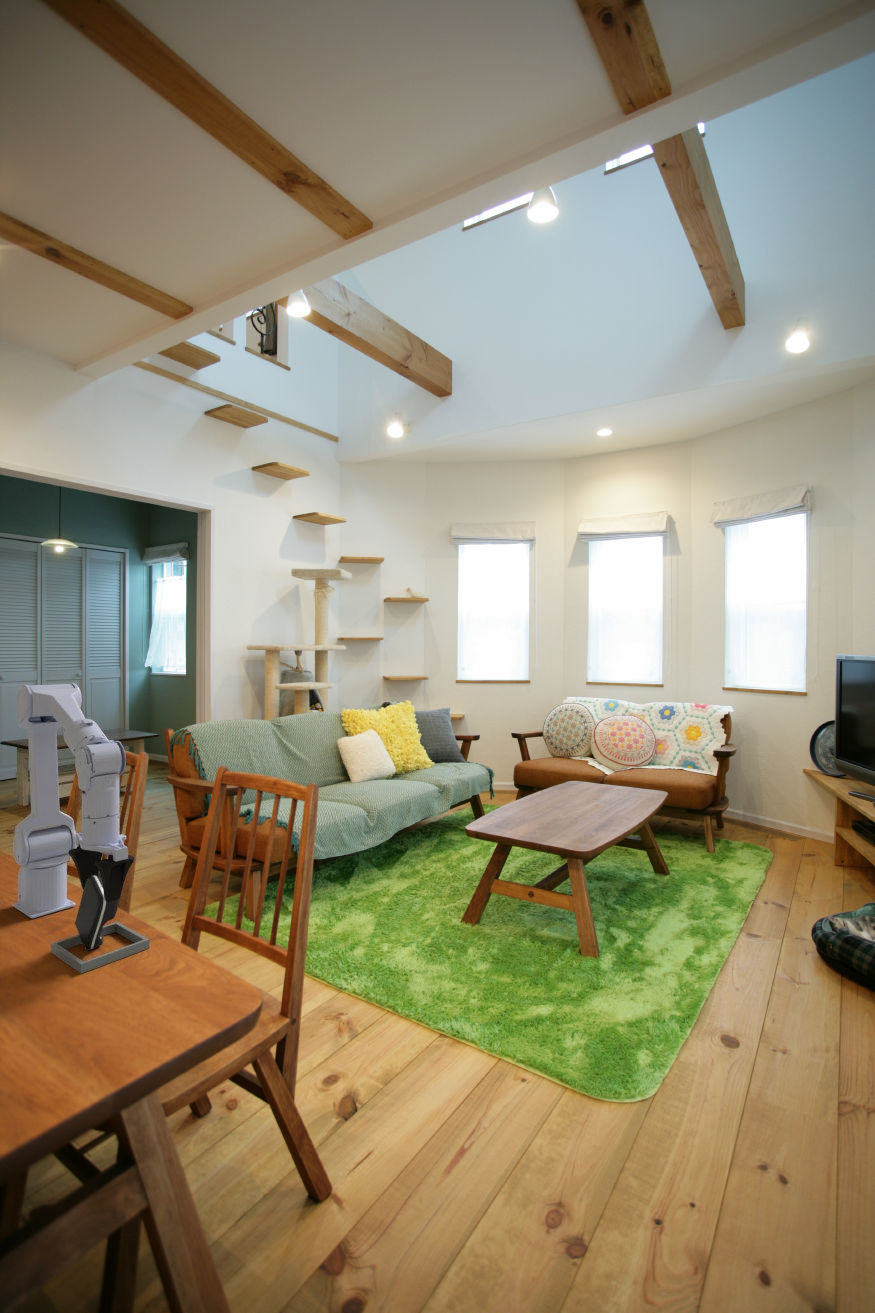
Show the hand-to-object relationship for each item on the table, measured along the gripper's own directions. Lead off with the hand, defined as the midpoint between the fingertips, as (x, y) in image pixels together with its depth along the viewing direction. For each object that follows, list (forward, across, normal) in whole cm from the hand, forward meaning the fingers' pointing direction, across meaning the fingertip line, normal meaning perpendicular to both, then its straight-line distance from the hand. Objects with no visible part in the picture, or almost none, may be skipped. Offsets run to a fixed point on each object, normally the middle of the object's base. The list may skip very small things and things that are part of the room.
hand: (101, 894), depth 111 cm
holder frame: (+10, 0, 0) cm, 10 cm away
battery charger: (+8, +4, 0) cm, 9 cm away
